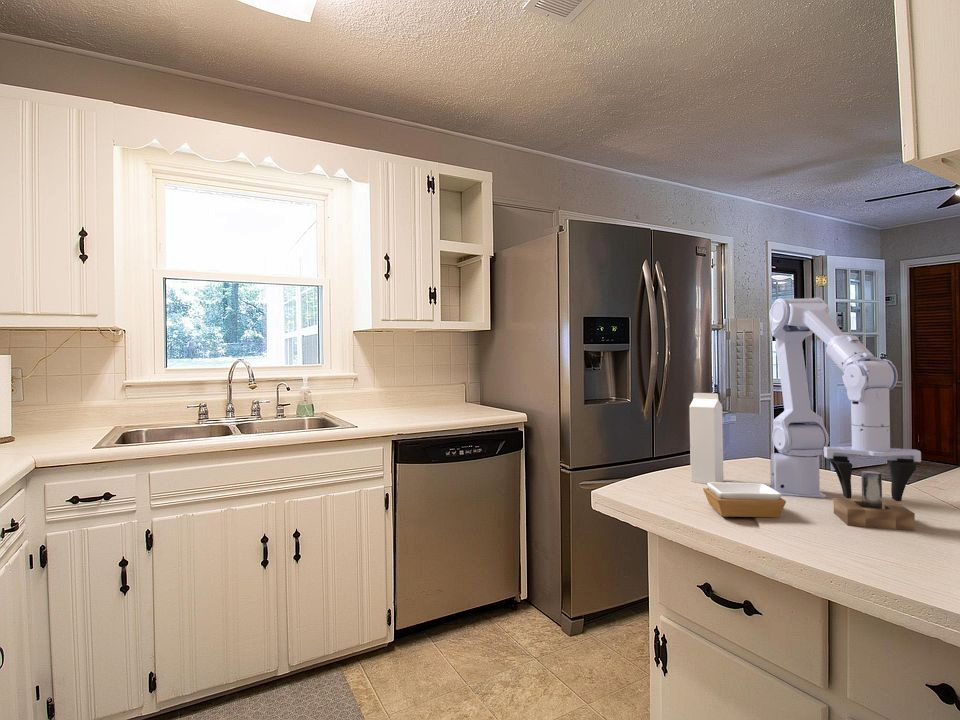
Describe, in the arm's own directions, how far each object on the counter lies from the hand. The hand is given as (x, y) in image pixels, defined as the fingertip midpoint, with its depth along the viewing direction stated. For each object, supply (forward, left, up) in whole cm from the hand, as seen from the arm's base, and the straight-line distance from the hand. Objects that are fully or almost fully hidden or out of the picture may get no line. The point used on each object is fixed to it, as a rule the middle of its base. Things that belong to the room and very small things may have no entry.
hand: (871, 498), depth 96 cm
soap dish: (-22, 0, -5) cm, 22 cm away
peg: (0, 0, -4) cm, 4 cm away
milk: (-26, +26, -4) cm, 37 cm away
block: (0, 0, -4) cm, 4 cm away
